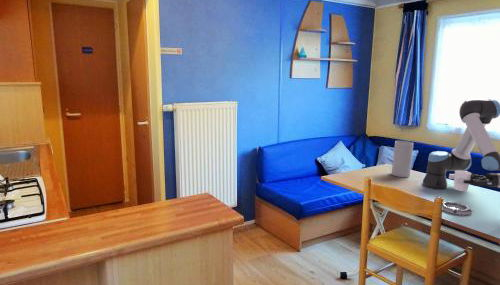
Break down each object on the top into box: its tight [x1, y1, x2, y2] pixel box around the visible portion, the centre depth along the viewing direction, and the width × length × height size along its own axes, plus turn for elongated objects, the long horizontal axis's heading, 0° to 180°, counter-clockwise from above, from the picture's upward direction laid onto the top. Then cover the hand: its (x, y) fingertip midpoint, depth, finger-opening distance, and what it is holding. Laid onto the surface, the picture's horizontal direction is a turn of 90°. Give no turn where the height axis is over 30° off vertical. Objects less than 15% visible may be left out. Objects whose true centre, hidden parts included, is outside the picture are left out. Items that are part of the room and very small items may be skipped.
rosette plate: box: [442, 200, 474, 217], centre depth 201 cm, size 16×16×3 cm
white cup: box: [453, 170, 472, 192], centre depth 199 cm, size 8×8×10 cm
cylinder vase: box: [391, 140, 414, 178], centre depth 265 cm, size 12×12×25 cm
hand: (453, 178), depth 199 cm, fingers closed on white cup, 8 cm apart
